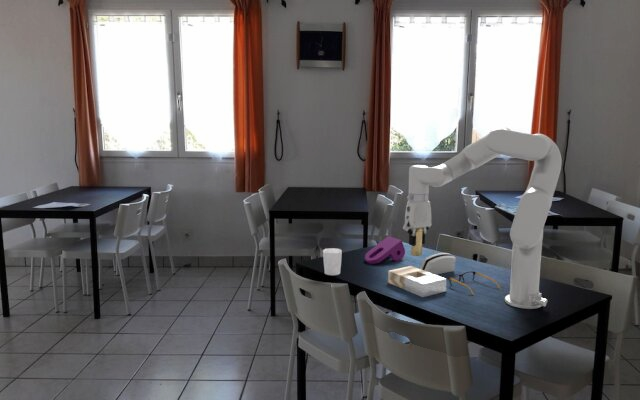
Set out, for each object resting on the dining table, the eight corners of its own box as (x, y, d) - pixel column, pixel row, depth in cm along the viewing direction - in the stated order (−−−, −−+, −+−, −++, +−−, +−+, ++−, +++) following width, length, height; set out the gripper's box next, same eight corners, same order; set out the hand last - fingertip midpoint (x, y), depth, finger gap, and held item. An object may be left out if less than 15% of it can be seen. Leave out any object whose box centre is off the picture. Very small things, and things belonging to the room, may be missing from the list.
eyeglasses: (473, 279, 214) (473, 270, 213) (500, 289, 201) (501, 280, 201) (446, 285, 207) (447, 275, 206) (473, 296, 194) (474, 286, 194)
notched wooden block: (427, 284, 207) (428, 271, 206) (404, 289, 201) (404, 277, 200) (410, 277, 216) (411, 265, 215) (388, 282, 209) (388, 270, 209)
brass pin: (423, 255, 201) (424, 224, 199) (416, 256, 199) (417, 225, 197) (416, 252, 205) (417, 222, 203) (409, 254, 203) (410, 224, 201)
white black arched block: (446, 267, 228) (452, 248, 224) (453, 274, 225) (459, 254, 220) (415, 273, 220) (421, 254, 216) (422, 280, 217) (428, 260, 212)
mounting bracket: (379, 277, 236) (407, 254, 243) (373, 262, 232) (401, 240, 240) (367, 271, 243) (393, 250, 251) (360, 257, 240) (388, 236, 247)
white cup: (344, 274, 220) (344, 251, 218) (327, 277, 217) (327, 253, 216) (337, 269, 227) (337, 247, 226) (320, 271, 225) (320, 249, 223)
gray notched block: (446, 291, 199) (446, 278, 198) (422, 297, 193) (423, 284, 192) (427, 284, 207) (428, 271, 206) (404, 289, 201) (404, 277, 200)
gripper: (408, 201, 191) (406, 249, 194) (441, 197, 199) (439, 243, 203) (394, 198, 197) (393, 245, 200) (427, 194, 206) (426, 239, 209)
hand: (416, 243), depth 201 cm, fingers closed on brass pin, 4 cm apart
